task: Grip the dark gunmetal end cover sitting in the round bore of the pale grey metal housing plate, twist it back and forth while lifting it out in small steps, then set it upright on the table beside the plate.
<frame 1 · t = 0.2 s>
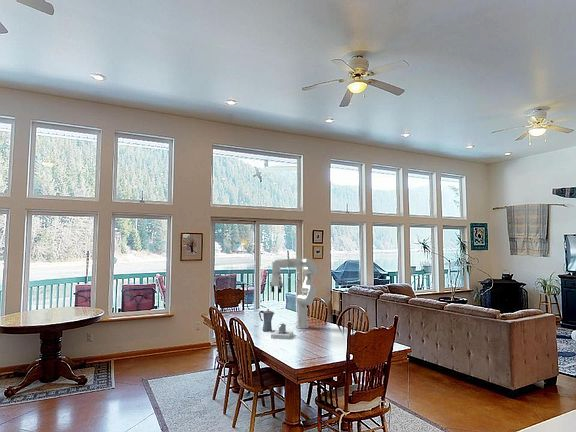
hand: (276, 292, 347), 37 cm above the table, tool pointing down, fingers open, 9 cm apart
moka pot: (266, 330, 355), on the table
housing: (282, 336, 333), on the table
end cover: (282, 329, 333), in the housing
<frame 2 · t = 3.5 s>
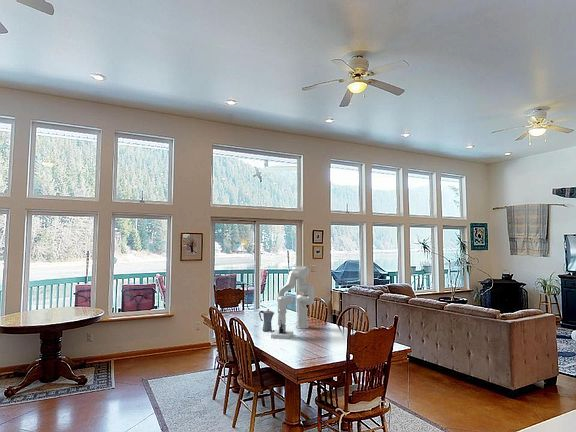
hand: (282, 332, 333), 4 cm above the table, tool pointing down, fingers closed on end cover, 6 cm apart
end cover: (282, 329, 333), in the housing, touching gripper
everything else where it was.
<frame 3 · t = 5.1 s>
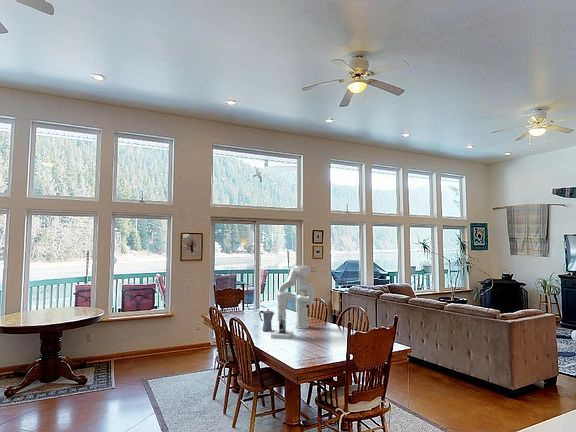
hand: (282, 327, 334), 7 cm above the table, tool pointing down, fingers closed on end cover, 6 cm apart
end cover: (282, 325, 334), point 9 cm above the table, touching gripper
everything else where it was.
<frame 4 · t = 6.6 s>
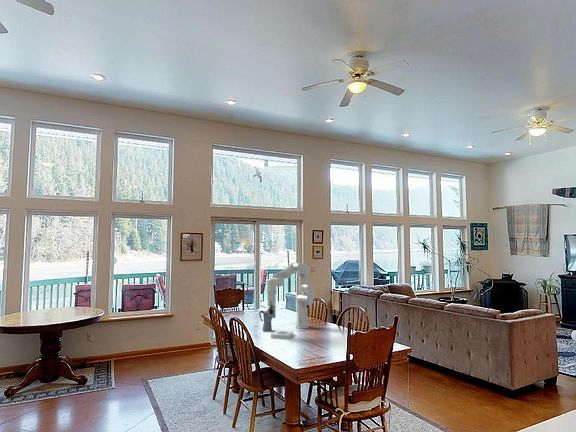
hand: (272, 313, 335), 20 cm above the table, tool pointing down, fingers closed on end cover, 6 cm apart
end cover: (272, 310, 335), point 22 cm above the table, touching gripper
everything else where it was.
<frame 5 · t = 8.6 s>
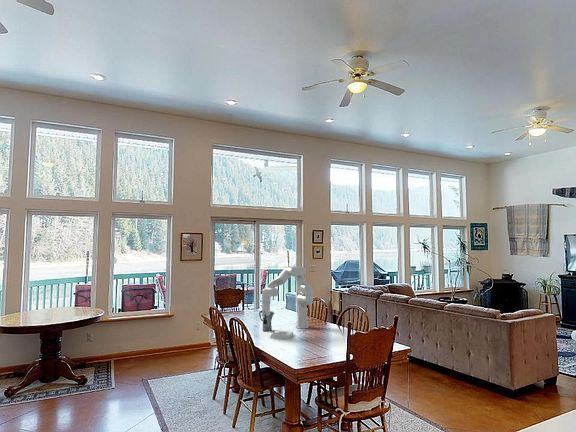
hand: (266, 323, 335), 11 cm above the table, tool pointing down, fingers closed on end cover, 6 cm apart
end cover: (266, 320, 335), point 13 cm above the table, touching gripper
everything else where it was.
when the fingers open (5 cm above the table, at t = 10.2 s): end cover drops 1 cm, on the table.
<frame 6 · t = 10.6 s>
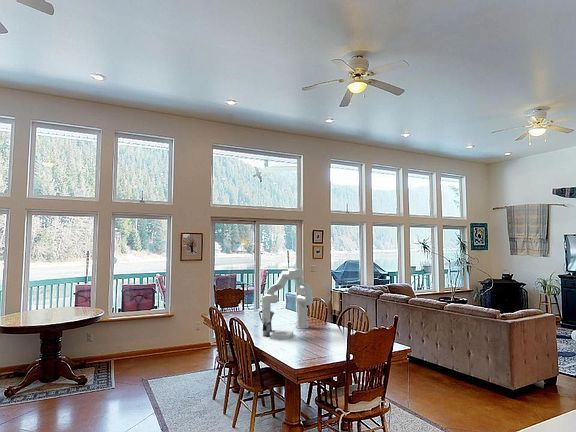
hand: (266, 329, 335), 6 cm above the table, tool pointing down, fingers open, 9 cm apart
end cover: (266, 329, 335), on the table
everything else where it was.
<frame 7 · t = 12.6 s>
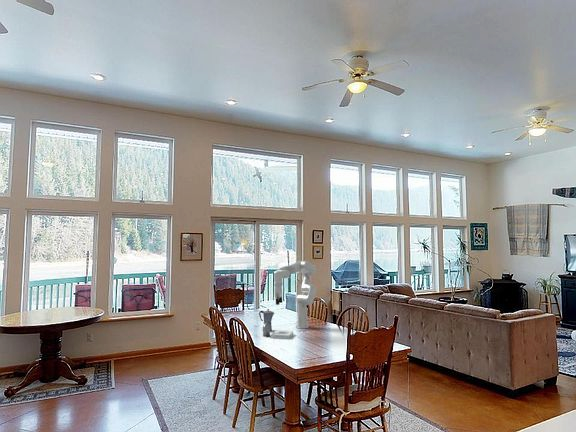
hand: (279, 303, 343), 27 cm above the table, tool pointing down, fingers open, 9 cm apart
nothing on the table moved.
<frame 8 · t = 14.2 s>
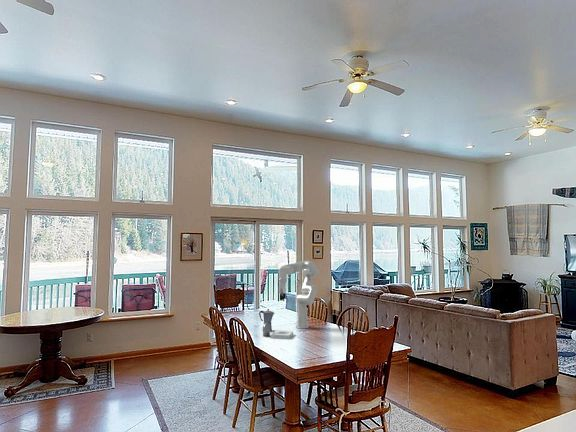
hand: (282, 299, 345), 30 cm above the table, tool pointing down, fingers open, 9 cm apart
nothing on the table moved.
at the end: end cover inside the target area (0.1 cm from its centre), on the table; end cover tilted 0°; the gripper is holding nothing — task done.
